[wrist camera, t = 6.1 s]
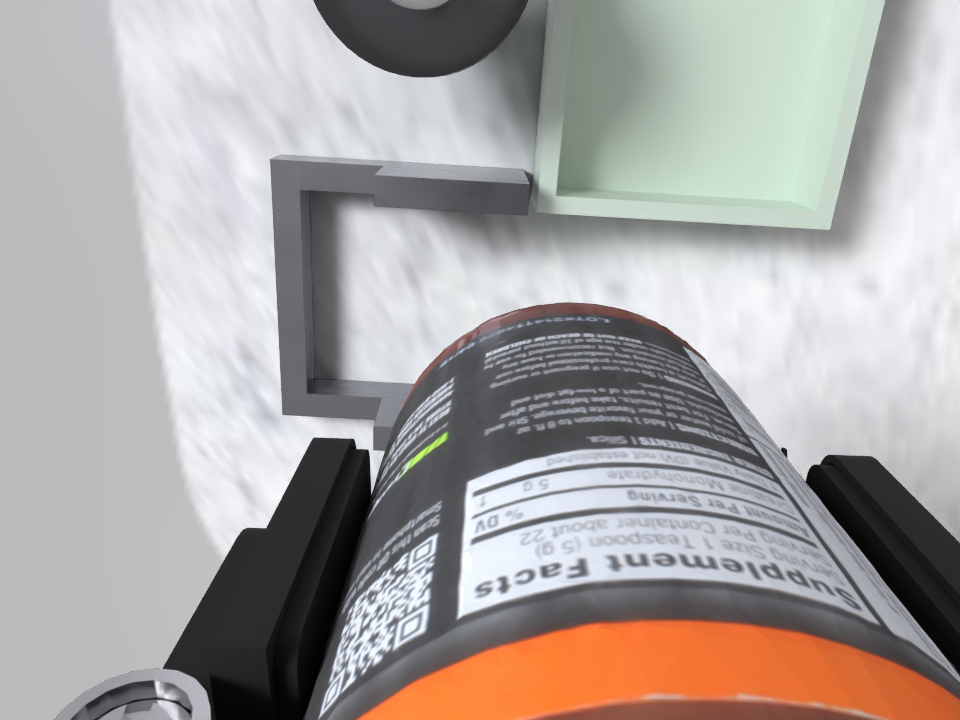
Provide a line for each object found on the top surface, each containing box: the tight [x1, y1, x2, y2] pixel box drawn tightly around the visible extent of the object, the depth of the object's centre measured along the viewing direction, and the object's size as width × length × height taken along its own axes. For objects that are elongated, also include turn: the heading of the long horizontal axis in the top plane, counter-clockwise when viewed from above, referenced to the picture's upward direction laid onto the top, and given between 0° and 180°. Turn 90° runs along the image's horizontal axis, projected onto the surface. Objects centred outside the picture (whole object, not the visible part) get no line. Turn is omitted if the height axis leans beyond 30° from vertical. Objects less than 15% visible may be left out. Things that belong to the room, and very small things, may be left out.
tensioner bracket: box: [270, 155, 530, 451], centre depth 27 cm, size 9×10×4 cm
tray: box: [531, 0, 885, 230], centre depth 24 cm, size 10×10×3 cm
